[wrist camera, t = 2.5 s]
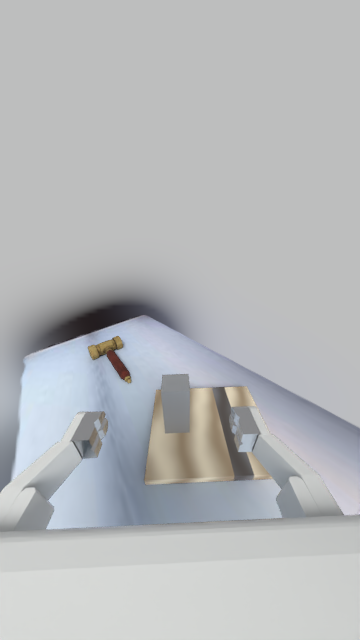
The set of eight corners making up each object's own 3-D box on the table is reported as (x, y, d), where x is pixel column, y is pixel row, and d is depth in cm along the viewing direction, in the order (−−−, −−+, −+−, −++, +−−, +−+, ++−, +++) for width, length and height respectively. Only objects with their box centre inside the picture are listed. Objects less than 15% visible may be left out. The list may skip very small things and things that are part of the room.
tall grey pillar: (188, 412, 32) (188, 372, 27) (189, 432, 29) (190, 390, 24) (166, 413, 32) (162, 373, 27) (165, 433, 29) (160, 392, 24)
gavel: (146, 367, 43) (109, 387, 37) (147, 378, 45) (112, 399, 39) (116, 333, 56) (86, 344, 51) (118, 343, 59) (90, 355, 53)
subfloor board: (245, 390, 38) (246, 386, 38) (287, 478, 24) (290, 473, 23) (156, 394, 38) (156, 389, 37) (145, 484, 24) (144, 480, 23)
